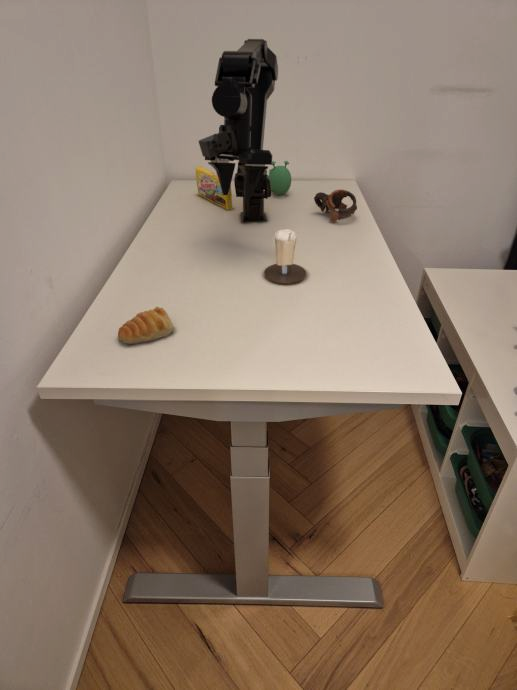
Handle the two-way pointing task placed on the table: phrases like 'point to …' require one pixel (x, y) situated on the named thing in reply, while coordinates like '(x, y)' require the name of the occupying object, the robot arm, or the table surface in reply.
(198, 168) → the candy box
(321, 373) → the table surface
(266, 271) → the coaster
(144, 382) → the table surface
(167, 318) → the pastry
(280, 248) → the milkshake
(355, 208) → the brown coiled strap
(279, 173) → the alien toy
